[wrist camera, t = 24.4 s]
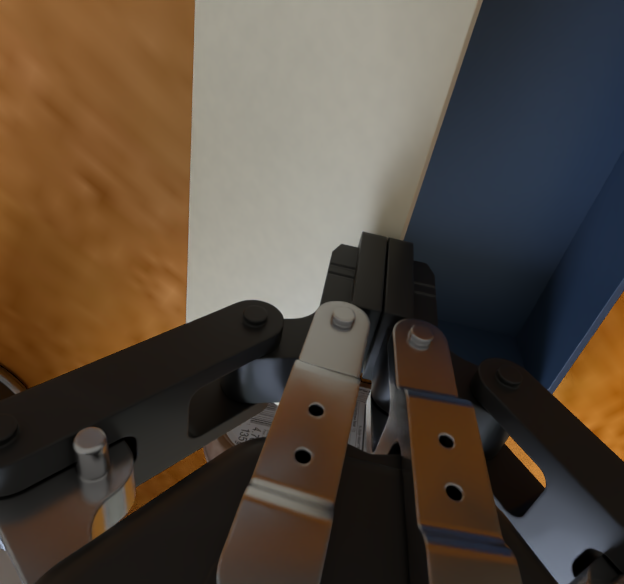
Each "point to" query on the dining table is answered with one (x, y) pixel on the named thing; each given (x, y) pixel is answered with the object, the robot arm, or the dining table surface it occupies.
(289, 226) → the carton flap
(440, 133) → the carton
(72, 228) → the dining table surface
